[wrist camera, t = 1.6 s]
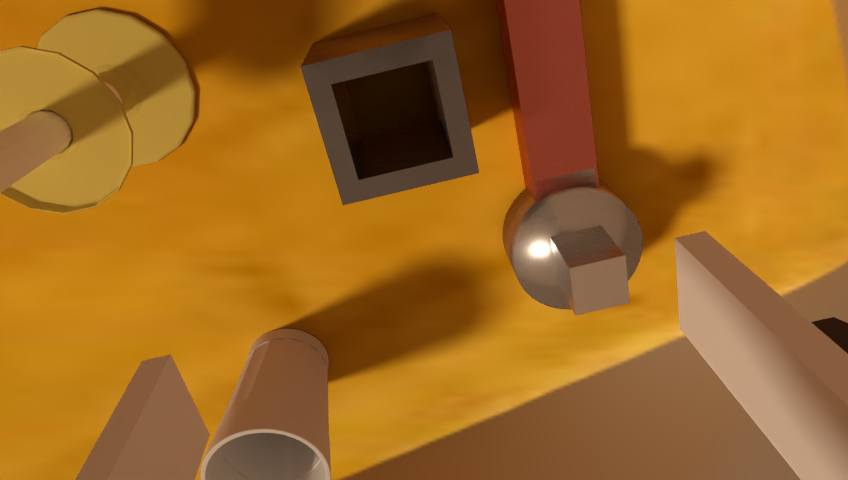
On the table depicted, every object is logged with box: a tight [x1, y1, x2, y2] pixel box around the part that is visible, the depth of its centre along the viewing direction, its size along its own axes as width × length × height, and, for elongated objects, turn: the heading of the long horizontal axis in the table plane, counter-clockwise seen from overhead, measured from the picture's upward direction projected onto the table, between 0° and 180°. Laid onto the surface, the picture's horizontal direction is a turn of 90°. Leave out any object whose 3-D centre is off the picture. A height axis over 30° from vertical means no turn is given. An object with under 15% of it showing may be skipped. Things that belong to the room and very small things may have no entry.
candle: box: [0, 9, 196, 214], centre depth 28 cm, size 10×10×27 cm
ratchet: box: [496, 0, 643, 315], centre depth 40 cm, size 22×9×8 cm, turn 13°
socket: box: [301, 13, 479, 205], centre depth 38 cm, size 8×8×8 cm
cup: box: [201, 329, 331, 480], centre depth 45 cm, size 8×8×12 cm
